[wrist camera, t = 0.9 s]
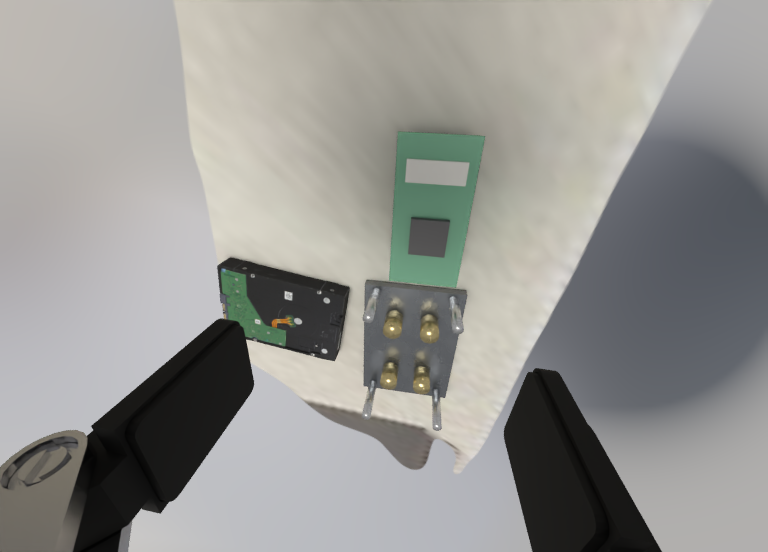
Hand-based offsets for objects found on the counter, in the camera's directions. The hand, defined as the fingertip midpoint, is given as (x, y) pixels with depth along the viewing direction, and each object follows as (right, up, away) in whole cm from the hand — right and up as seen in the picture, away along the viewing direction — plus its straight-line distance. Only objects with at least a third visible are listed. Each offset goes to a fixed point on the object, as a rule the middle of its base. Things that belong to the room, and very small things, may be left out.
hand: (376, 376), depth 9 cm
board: (+4, +9, +15) cm, 18 cm away
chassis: (+3, -5, +25) cm, 26 cm away
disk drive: (-12, 0, +26) cm, 29 cm away
